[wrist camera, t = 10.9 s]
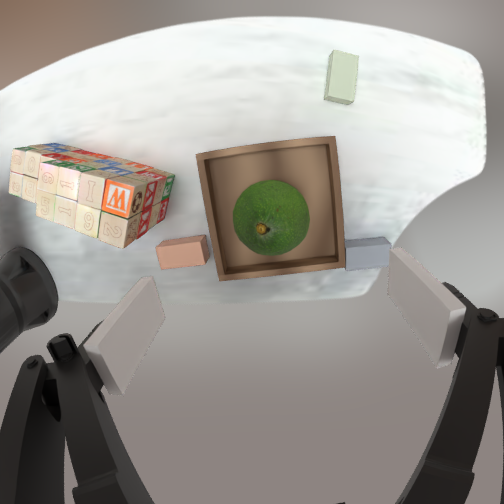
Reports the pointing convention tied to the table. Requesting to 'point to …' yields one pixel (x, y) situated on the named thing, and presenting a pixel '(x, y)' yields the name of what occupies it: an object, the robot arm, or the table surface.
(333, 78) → the sage brick
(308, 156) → the tray
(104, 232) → the stack of blocks
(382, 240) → the slate brick
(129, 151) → the table surface
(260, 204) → the fruit
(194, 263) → the terracotta brick
